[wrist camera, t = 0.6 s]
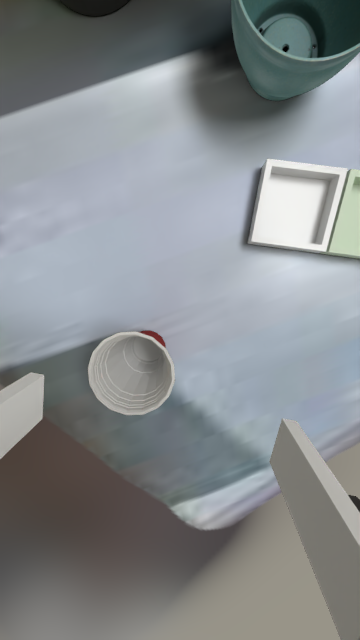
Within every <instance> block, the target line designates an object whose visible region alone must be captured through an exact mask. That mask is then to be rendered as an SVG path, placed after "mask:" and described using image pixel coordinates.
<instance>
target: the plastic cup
mask: <svg viewBox="0 0 360 640" xmlns="http://www.w3.org/2000/svg"><path fill="white" fill-rule="evenodd" d="M88 375H89V384H90V386H91V388H92V390H93V392H94V393H95V395H96V397H97V399H98V400H99V401H101V402H102V403H103V404H104V405H105V406H107V407H108V408H109V409H110V410H113V411H116V412H119V413H122V414H125V415H142V414H145V413H148V412H150V411H152V410H154V409H157V408H158V407H159V406H160V405H161V404H162V403H163V402H164V401H165V400H166V399H167V398H168V397H169V396H170V393H171V390H172V387H173V385H174V382H175V374H174V363H173V361H172V359H171V357H170V355H169V353H168V351H167V349H166V347H165V342H164V341H163V339H162V337H161V336H160V335H158V334H157V333H155V332H153V331H141V332H119V333H117V334H115V335H112V336H110V337H108V338H106V339H104V340H103V341H102V342H101V343H100V344H99V346H98V347H97V348H96V349H95V350H94V351H93V353H92V356H91V359H90V362H89V366H88Z"/></svg>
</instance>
